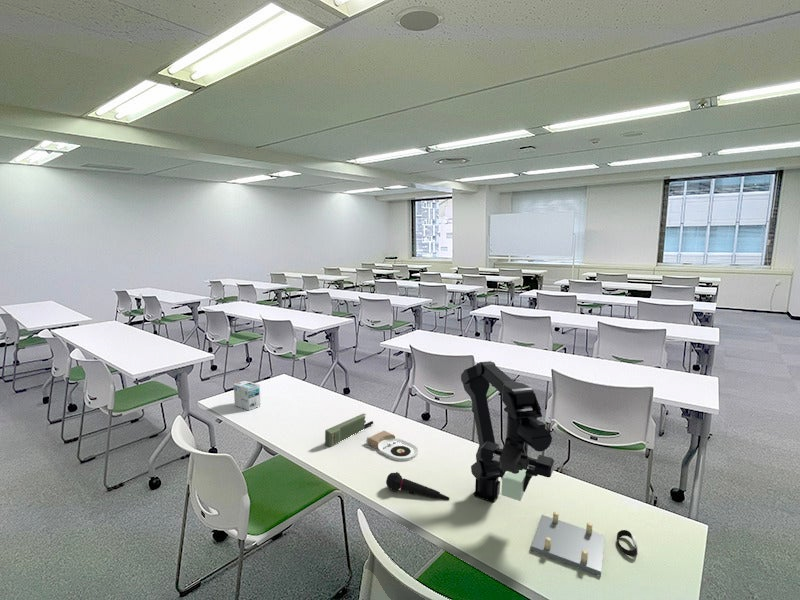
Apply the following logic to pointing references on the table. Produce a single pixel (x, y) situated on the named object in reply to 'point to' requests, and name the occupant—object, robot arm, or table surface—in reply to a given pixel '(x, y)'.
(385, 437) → the record player
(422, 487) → the microphone
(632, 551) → the watch
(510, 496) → the board block
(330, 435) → the handheld radio
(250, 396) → the light bulb box
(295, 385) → the table surface
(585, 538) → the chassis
